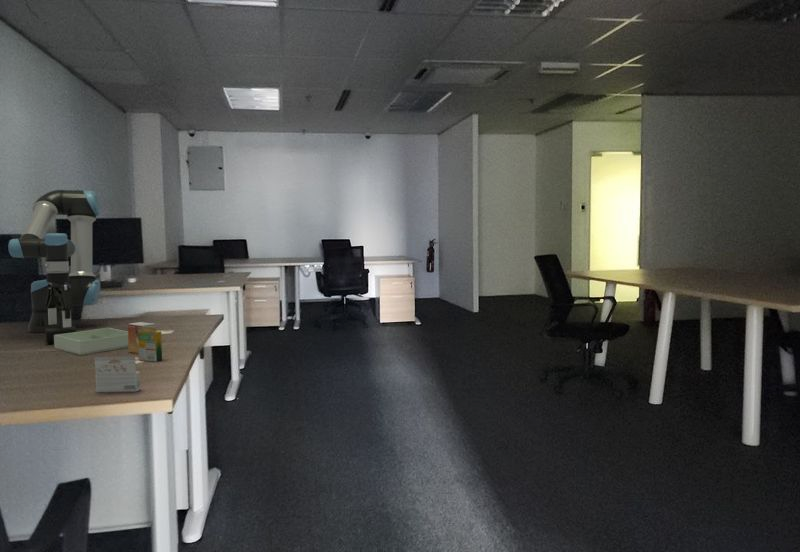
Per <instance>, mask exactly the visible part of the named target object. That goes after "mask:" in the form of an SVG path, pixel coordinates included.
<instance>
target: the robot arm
mask: <svg viewBox="0 0 800 552" xmlns="http://www.w3.org/2000/svg"><path fill="white" fill-rule="evenodd" d="M99 202H100V201H99V198H98V195H97V193H96V192H95V191H94V190H93V191H92V190H85V189H82V190H80V189H79V190H78V189H77V190H76V189H73V190H71V189H69V190H67V189H56V190H54V189H53V190H51V191H49V192H46V193H45V194H43V195H41V196H40V197H39V198H37V199H36V200H35V202H34V203H33V206H32V213H31V215H30V217H29V220H28V221H27V224H26V226H25V227H24V229H23V231H22V233H21V235H20V237H19V238H12V239H10V240H9V242H8V244H7V245H8V253H9V255H10V256H11V257H12V258H22V259H25V258H45V264H44V267H45V271H46V272H47V273H46V275H45V276H46V279H41V280H36V281H33V282H31V284H30V297H31V298H30V300H31V316H30V319H29V323H28V325H27V331H28V332H29V333H45V328H46V327H56V326H63V328H64V327H71V325H72V312H71V311H72V309H74V308H75V307H77V306H85V307H87V306H92V305H96V303H98V300H99V299H100V294H101V281H100V280H99V279H97V276H96V274H94V272H93V223H94V222H96V221H97V217H98V216H100V215H101V206H100V203H99ZM57 216H66V219H68V221H69V222H70V239H68V235H67V233H63V232H62V233H61V232H60V233H59V232H57V233H56V232H55V233H53V232H50V233H47V232H48V230H49V227H50V225H51V223H52V221H53V219H55V218H56V217H57ZM69 257H70V263H69ZM69 264H70V265H69ZM69 266H70V267H69ZM69 270H70V273H69Z"/></svg>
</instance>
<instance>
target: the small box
mask: <svg viewBox="0 0 800 552" xmlns="http://www.w3.org/2000/svg"><path fill="white" fill-rule="evenodd" d="M138 327H155V328H156V323H152V322H151V323H150V322H143V321H139V322H133V323H127V332H128V347H129V348H128V352H129V353H133V354H138V355H139V351H138ZM143 331H150V329H147V328H146V329H143Z"/></svg>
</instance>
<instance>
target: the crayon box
mask: <svg viewBox="0 0 800 552" xmlns="http://www.w3.org/2000/svg"><path fill="white" fill-rule="evenodd" d="M146 328H147V329H150V331H143V329H146ZM162 343H163V342H162V331H156V326H155V327H138V351H139V354H138V361H147V362H160V361H162V360H163V350H162V349H163V348H162Z"/></svg>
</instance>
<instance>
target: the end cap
mask: <svg viewBox="0 0 800 552" xmlns="http://www.w3.org/2000/svg"><path fill="white" fill-rule="evenodd" d="M72 332H77V327H76V324H71V327H64V328H63V326H56V327H46V328H45V332H44V334H45V343H46V344H47V345H51V344H54V335H57V334H65V333H72Z"/></svg>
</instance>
